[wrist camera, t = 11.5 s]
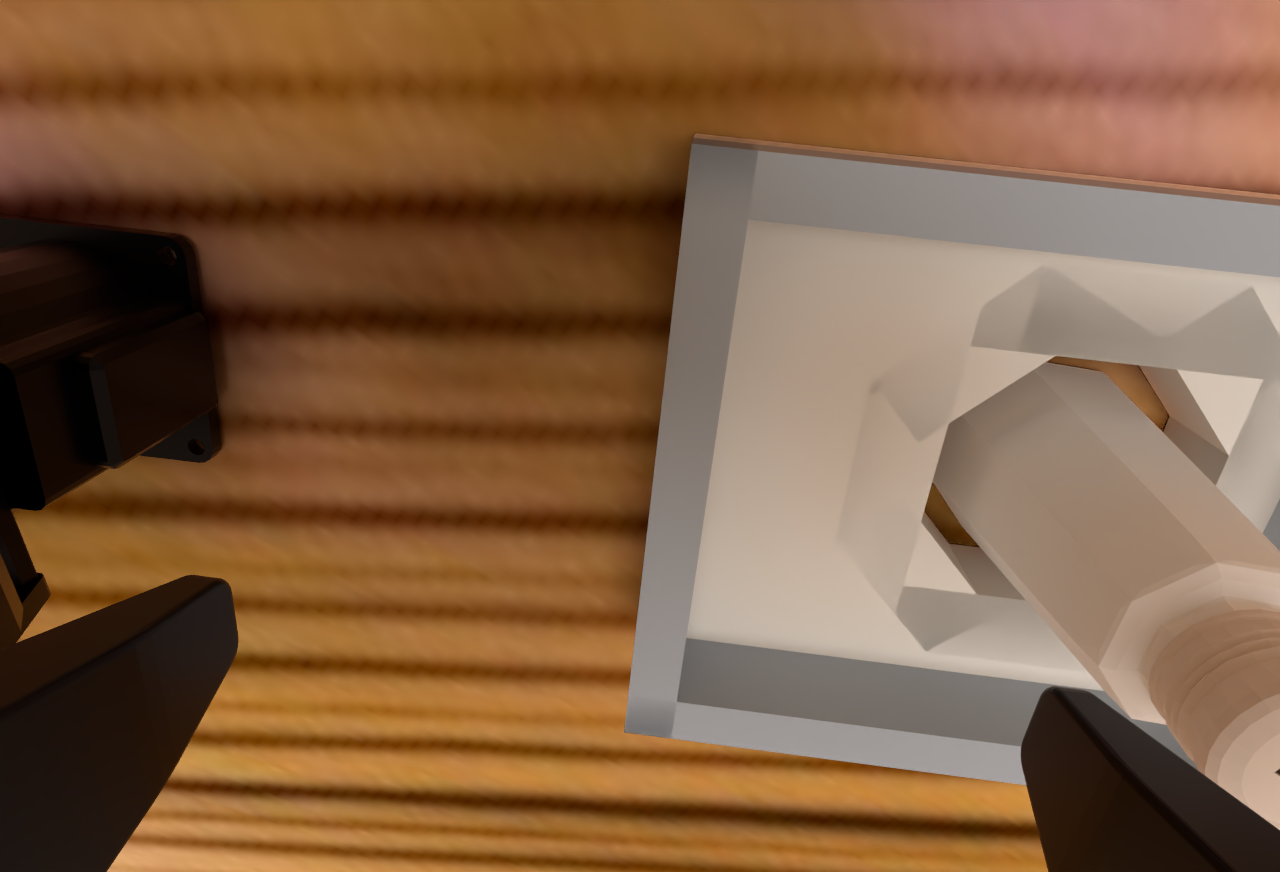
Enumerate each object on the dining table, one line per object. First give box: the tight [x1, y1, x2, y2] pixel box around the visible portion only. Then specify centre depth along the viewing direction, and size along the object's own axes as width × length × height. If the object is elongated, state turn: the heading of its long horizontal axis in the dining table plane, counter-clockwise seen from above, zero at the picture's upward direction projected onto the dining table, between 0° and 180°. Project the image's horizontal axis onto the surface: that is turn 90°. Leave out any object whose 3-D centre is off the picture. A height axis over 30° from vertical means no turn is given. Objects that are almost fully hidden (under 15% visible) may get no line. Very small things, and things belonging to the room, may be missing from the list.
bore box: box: [624, 133, 1280, 785], centre depth 19 cm, size 16×14×5 cm
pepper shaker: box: [932, 362, 1280, 830], centre depth 16 cm, size 5×5×11 cm
